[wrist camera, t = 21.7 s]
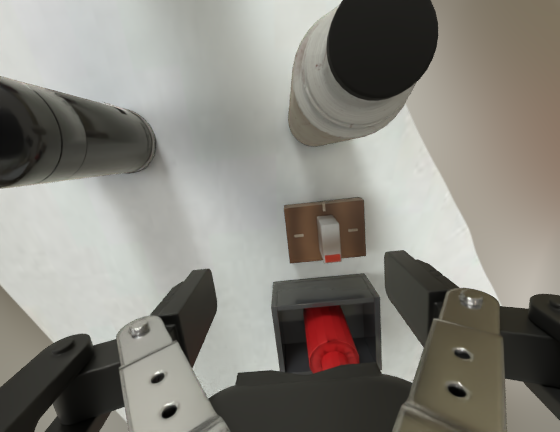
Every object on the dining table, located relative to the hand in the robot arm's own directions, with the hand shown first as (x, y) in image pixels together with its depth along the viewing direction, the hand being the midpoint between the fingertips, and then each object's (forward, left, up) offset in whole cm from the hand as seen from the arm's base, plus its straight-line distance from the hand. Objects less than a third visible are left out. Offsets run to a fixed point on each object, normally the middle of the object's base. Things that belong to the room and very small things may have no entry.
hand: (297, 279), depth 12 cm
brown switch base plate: (+5, -7, -30) cm, 31 cm away
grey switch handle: (+5, -7, -28) cm, 29 cm away
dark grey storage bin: (+3, -22, -30) cm, 37 cm away
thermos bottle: (+5, +10, -30) cm, 32 cm away
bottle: (+4, -22, -29) cm, 37 cm away
